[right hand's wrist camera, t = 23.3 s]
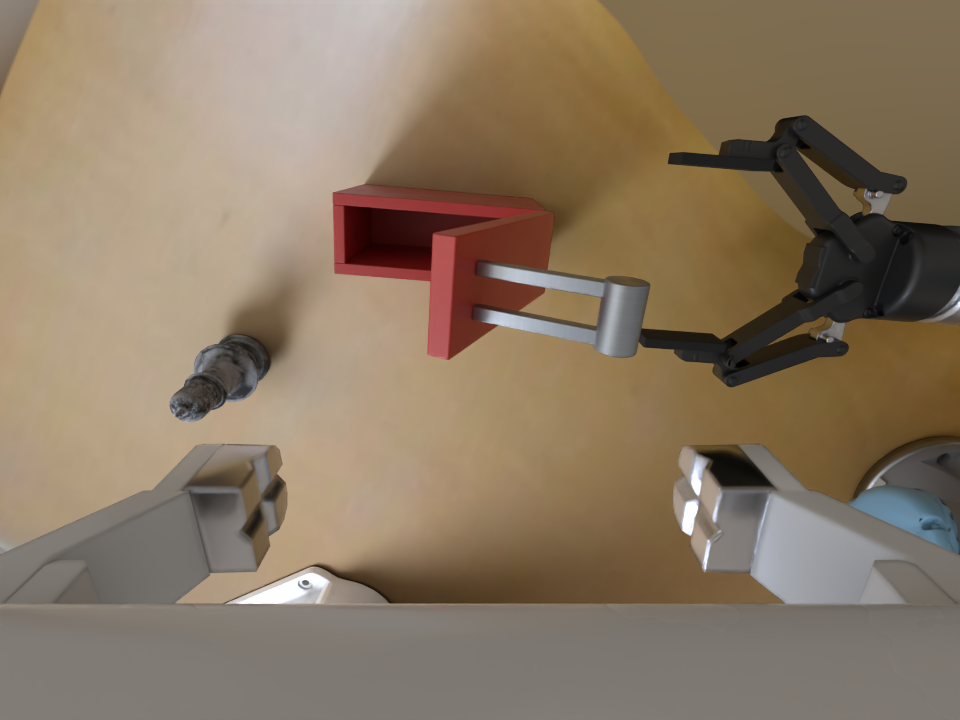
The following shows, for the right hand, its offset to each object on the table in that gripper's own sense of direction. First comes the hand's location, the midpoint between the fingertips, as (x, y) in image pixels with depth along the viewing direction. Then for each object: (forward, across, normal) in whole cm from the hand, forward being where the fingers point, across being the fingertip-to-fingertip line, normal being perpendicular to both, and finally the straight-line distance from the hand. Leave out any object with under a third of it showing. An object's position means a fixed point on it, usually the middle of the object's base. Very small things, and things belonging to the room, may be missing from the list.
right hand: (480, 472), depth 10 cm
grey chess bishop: (+39, +24, +13) cm, 47 cm away
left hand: (+31, -14, +1) cm, 34 cm away
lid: (+21, -1, 0) cm, 21 cm away
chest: (+39, +3, 0) cm, 39 cm away
